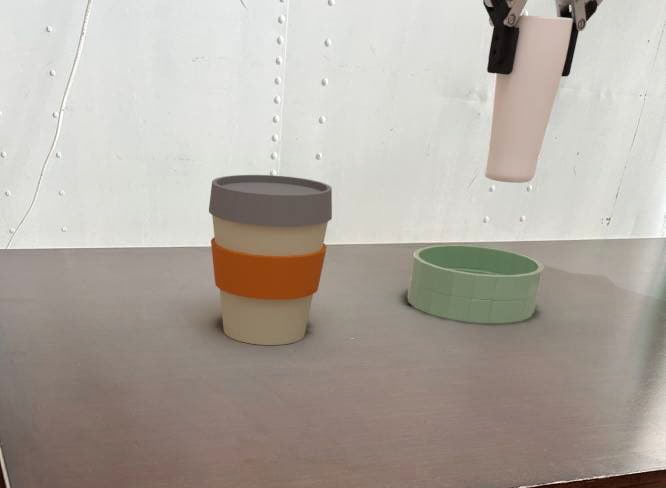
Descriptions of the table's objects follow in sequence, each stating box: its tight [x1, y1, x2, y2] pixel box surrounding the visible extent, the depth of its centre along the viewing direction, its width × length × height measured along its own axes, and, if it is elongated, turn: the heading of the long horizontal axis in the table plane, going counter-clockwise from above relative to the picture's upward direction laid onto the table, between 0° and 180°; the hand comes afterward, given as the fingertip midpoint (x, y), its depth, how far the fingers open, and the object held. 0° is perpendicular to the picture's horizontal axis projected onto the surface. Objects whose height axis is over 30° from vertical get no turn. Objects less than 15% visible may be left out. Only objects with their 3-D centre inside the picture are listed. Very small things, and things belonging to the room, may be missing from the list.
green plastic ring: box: [407, 244, 545, 324], centre depth 99 cm, size 15×15×6 cm
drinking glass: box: [483, 14, 573, 184], centre depth 85 cm, size 7×7×15 cm
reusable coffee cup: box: [208, 174, 333, 346], centre depth 86 cm, size 13×13×15 cm
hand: (528, 72), depth 84 cm, fingers closed on drinking glass, 6 cm apart
